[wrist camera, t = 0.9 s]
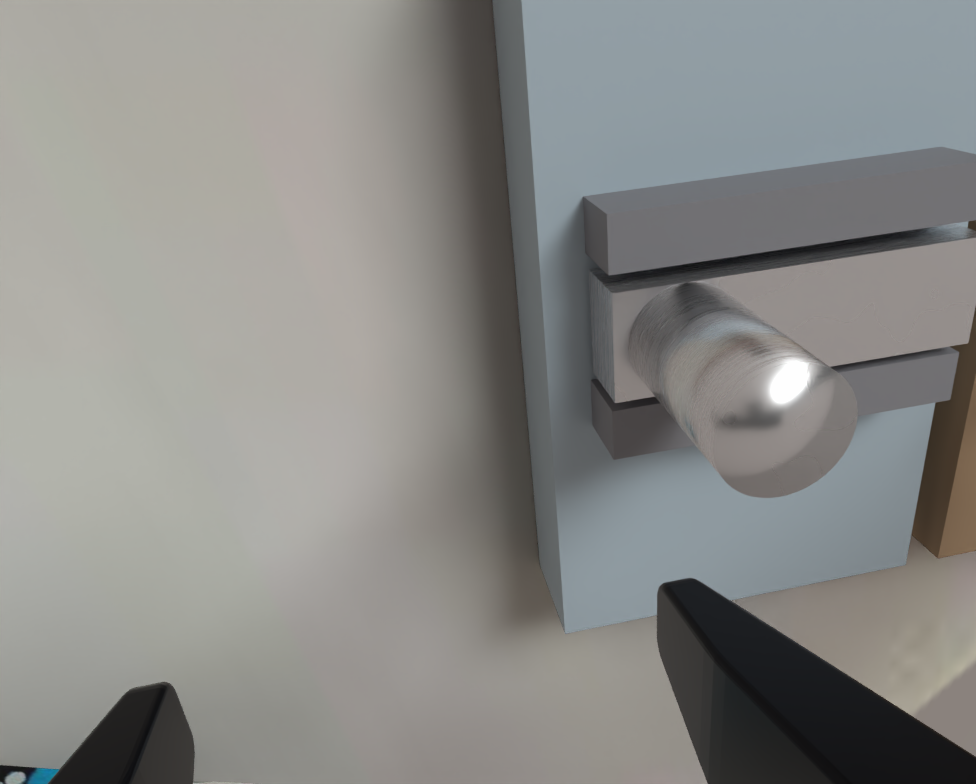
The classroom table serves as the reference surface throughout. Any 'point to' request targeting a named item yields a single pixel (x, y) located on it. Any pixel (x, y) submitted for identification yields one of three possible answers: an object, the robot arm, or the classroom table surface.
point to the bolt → (778, 342)
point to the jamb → (951, 464)
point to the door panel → (715, 235)
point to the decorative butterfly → (43, 775)
